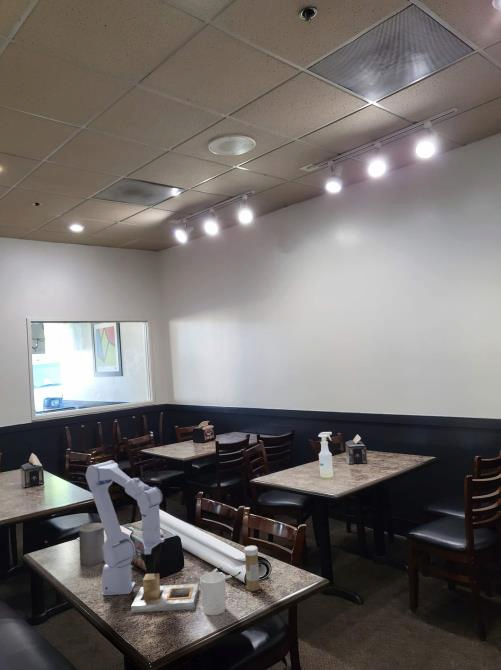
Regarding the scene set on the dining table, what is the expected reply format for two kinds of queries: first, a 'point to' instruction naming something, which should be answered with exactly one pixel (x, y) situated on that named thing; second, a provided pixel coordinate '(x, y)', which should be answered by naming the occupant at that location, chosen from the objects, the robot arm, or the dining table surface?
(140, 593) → the socket board
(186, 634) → the dining table surface
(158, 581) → the peg
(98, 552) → the pillar candle
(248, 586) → the sprinkles bottle
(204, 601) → the white cup
